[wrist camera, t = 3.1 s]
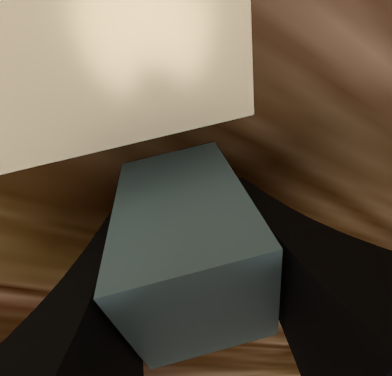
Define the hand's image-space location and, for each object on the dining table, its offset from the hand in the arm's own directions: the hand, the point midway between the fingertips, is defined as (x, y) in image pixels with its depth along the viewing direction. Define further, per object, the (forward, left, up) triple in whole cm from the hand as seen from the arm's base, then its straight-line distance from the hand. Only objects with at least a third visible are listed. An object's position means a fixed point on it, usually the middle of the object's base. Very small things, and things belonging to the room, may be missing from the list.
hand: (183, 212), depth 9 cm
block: (0, 0, -2) cm, 2 cm away
